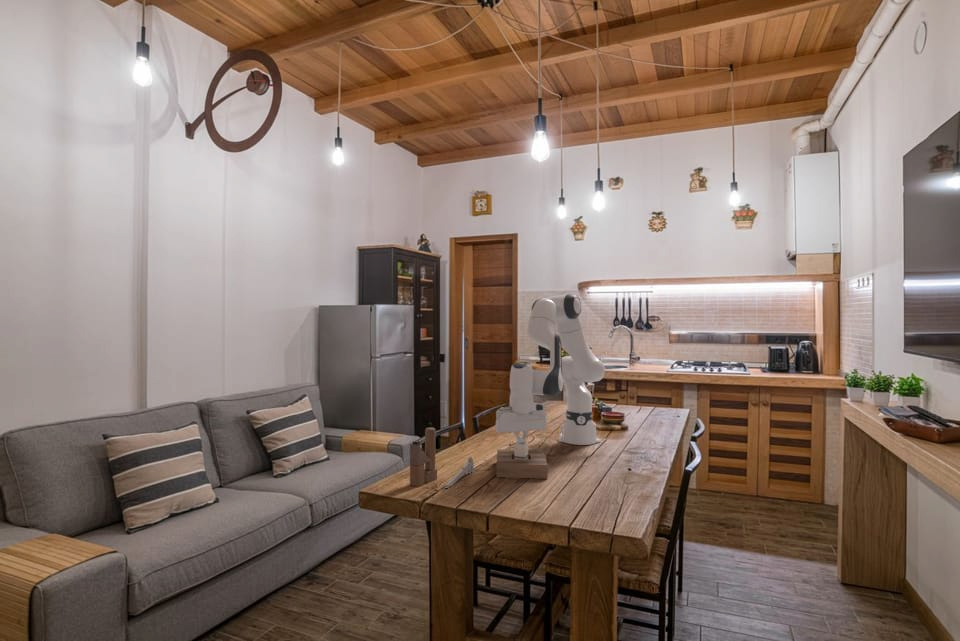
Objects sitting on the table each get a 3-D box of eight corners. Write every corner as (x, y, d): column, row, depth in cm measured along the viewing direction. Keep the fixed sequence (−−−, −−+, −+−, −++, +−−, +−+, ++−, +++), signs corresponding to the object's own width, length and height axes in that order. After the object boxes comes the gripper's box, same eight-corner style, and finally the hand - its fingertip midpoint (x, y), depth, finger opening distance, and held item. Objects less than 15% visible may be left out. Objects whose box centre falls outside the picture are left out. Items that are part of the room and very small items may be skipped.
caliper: (470, 473, 188) (471, 456, 188) (473, 473, 187) (473, 456, 187) (444, 489, 169) (444, 470, 169) (446, 490, 169) (447, 471, 169)
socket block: (497, 461, 201) (497, 449, 201) (543, 462, 200) (543, 450, 200) (496, 478, 181) (496, 463, 181) (547, 479, 180) (547, 464, 180)
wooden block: (409, 485, 173) (409, 432, 173) (429, 477, 182) (429, 426, 182) (418, 487, 171) (418, 433, 171) (437, 478, 180) (437, 427, 180)
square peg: (518, 467, 193) (518, 441, 193) (528, 469, 192) (528, 442, 191) (514, 470, 190) (514, 444, 189) (524, 472, 188) (524, 445, 188)
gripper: (500, 409, 183) (499, 447, 183) (549, 405, 191) (548, 442, 192) (492, 406, 189) (492, 443, 189) (540, 402, 197) (540, 438, 197)
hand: (521, 442), depth 190 cm, fingers closed
